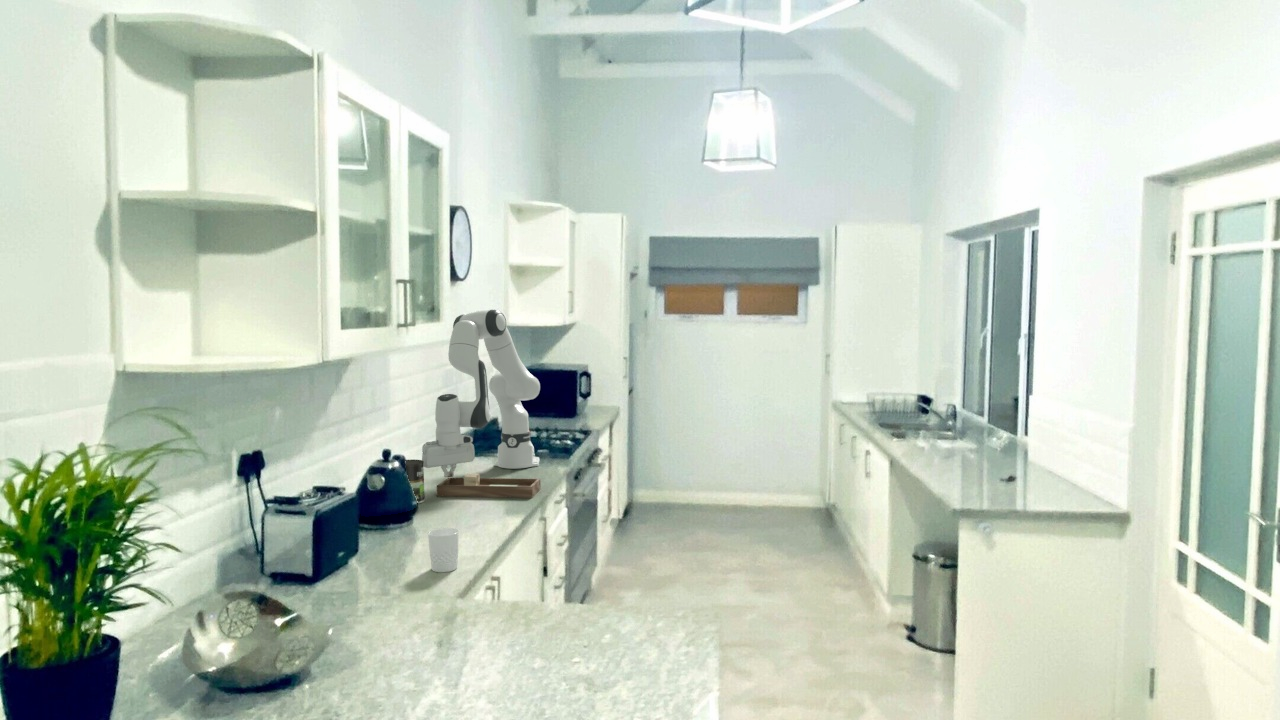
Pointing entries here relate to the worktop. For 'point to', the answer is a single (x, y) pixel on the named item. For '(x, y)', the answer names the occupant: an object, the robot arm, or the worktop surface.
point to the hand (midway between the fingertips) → (448, 476)
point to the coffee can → (416, 478)
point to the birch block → (472, 480)
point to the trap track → (490, 488)
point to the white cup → (443, 549)
